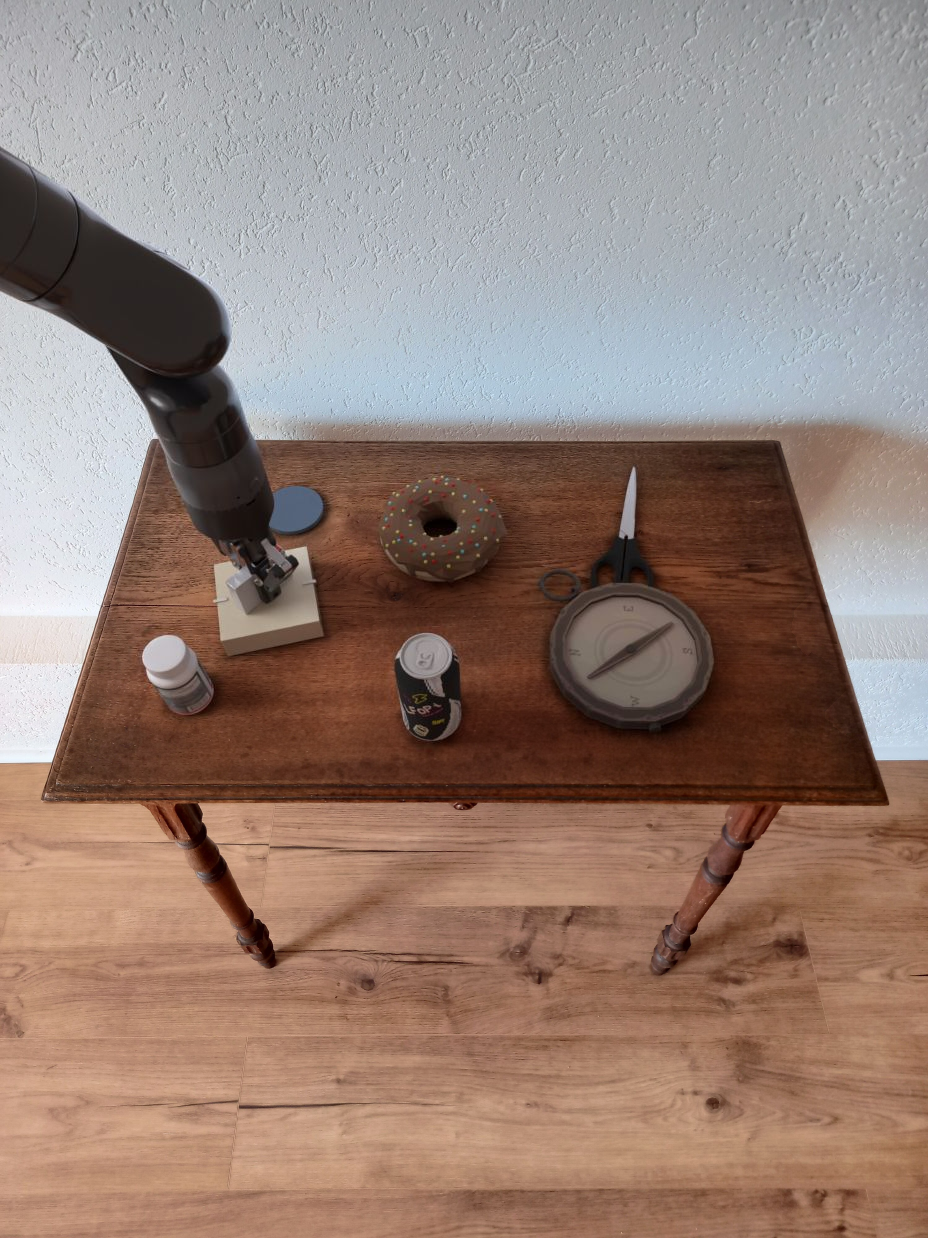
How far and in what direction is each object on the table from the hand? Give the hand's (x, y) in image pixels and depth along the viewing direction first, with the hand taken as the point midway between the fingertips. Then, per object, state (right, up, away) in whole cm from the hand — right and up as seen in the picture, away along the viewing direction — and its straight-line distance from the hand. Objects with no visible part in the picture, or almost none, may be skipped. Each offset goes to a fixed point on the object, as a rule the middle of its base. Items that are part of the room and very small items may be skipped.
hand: (264, 590), depth 84 cm
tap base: (0, -2, +3) cm, 3 cm away
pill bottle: (-7, -11, -3) cm, 13 cm away
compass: (+37, -6, -1) cm, 38 cm away
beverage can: (+18, -13, -5) cm, 22 cm away
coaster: (+1, +10, +10) cm, 14 cm away
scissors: (+39, +7, +7) cm, 40 cm away
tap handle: (0, 0, 0) cm, 0 cm away
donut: (+19, +6, +7) cm, 21 cm away
